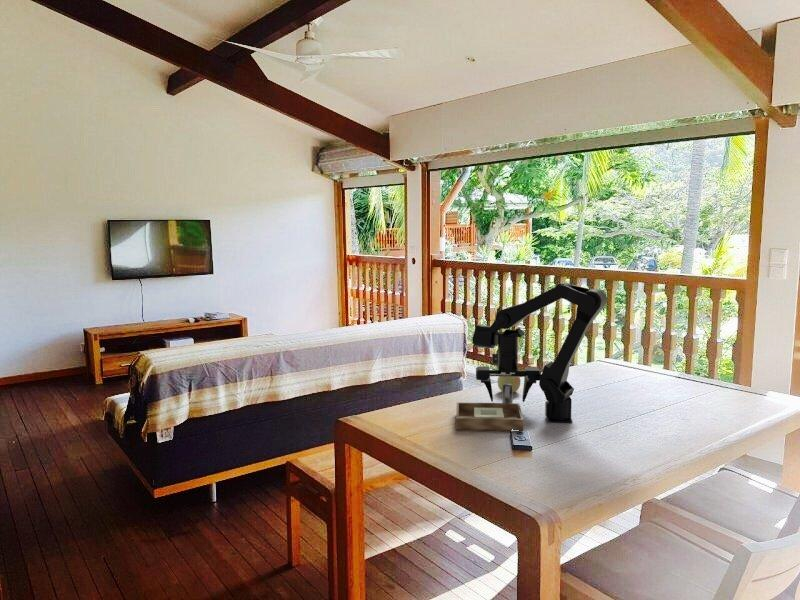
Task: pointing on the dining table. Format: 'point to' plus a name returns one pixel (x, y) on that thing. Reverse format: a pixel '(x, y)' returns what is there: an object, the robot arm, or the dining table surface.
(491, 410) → the bore plate
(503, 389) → the peg
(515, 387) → the fruit
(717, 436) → the dining table surface
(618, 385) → the dining table surface
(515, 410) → the crate
